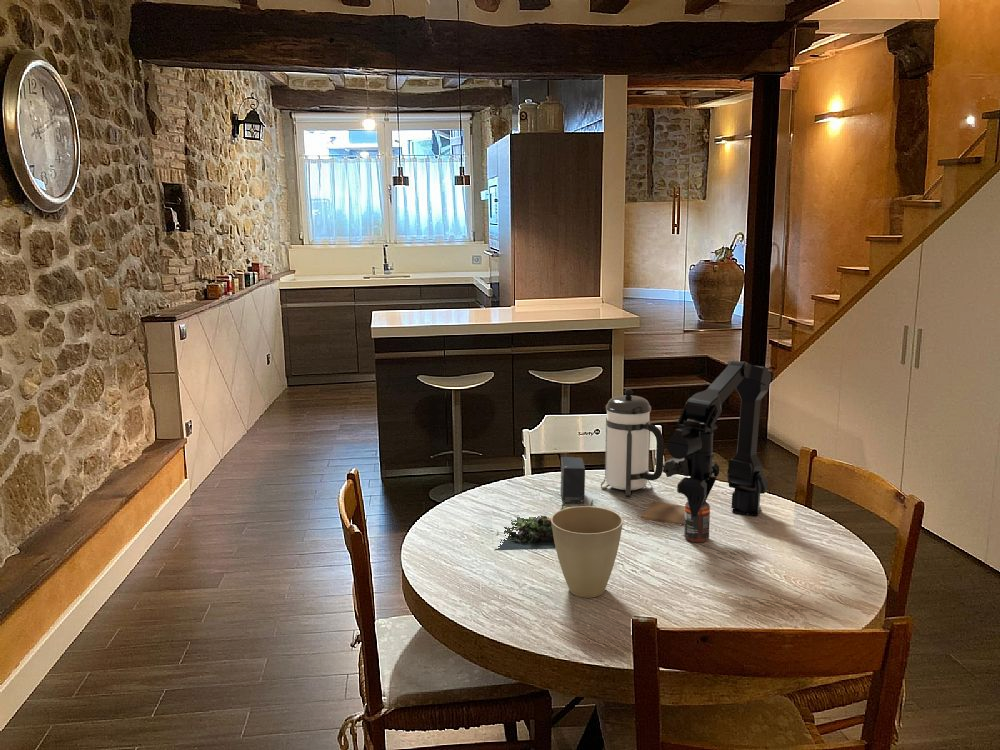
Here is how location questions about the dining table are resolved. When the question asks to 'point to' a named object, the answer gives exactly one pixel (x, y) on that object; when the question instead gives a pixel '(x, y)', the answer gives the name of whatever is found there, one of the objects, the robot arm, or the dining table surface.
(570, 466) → the small box
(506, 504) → the dining table surface
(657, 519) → the walnut trivet
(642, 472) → the coffee press
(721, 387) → the robot arm
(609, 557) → the plant pot
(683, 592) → the dining table surface
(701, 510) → the supplement bottle
